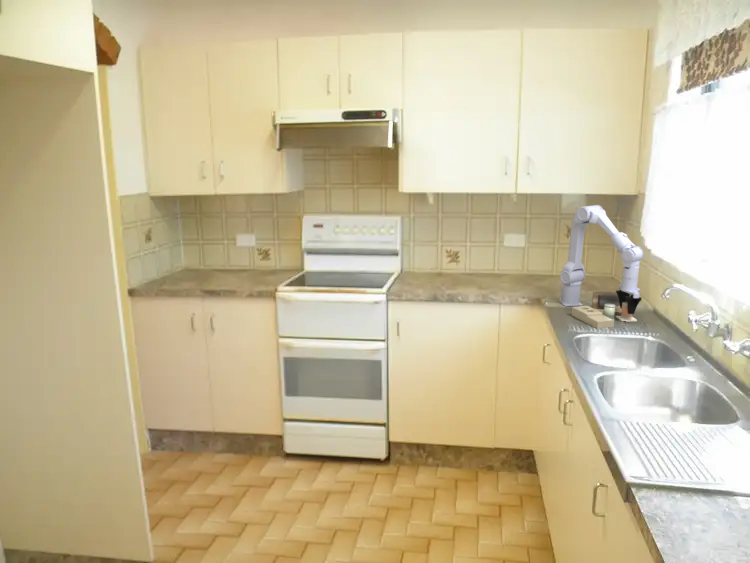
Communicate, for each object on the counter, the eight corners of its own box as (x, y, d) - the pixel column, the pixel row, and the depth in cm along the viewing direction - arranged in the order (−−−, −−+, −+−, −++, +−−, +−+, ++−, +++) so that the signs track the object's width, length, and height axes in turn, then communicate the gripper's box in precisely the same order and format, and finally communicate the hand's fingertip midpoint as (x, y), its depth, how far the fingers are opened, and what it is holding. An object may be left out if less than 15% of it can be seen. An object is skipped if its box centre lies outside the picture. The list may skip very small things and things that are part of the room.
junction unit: (590, 308, 244) (592, 290, 242) (619, 308, 244) (621, 290, 242) (595, 312, 240) (596, 293, 238) (624, 312, 239) (626, 293, 237)
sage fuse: (601, 317, 232) (603, 303, 231) (611, 317, 232) (613, 303, 231) (605, 320, 228) (606, 306, 227) (615, 320, 228) (617, 306, 227)
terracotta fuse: (626, 315, 232) (627, 301, 231) (634, 318, 229) (635, 303, 227) (618, 317, 231) (620, 302, 229) (626, 319, 227) (627, 305, 226)
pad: (615, 317, 233) (615, 315, 233) (630, 316, 233) (630, 315, 233) (621, 321, 227) (621, 320, 227) (637, 321, 227) (637, 319, 227)
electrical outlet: (597, 319, 218) (571, 306, 235) (597, 329, 219) (571, 316, 236) (614, 317, 220) (587, 305, 237) (613, 328, 221) (586, 314, 238)
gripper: (648, 282, 219) (645, 316, 222) (632, 273, 233) (629, 305, 236) (630, 282, 219) (626, 316, 222) (615, 273, 233) (612, 305, 236)
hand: (626, 311), depth 229 cm, fingers open, 7 cm apart
